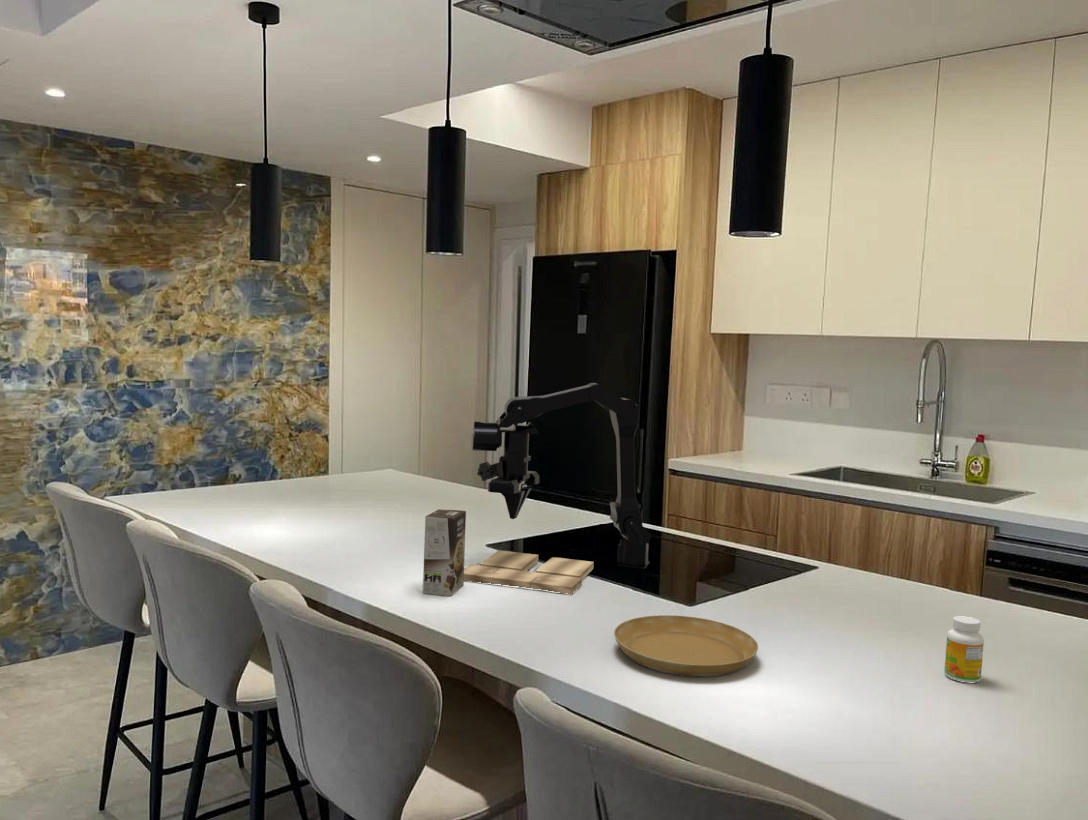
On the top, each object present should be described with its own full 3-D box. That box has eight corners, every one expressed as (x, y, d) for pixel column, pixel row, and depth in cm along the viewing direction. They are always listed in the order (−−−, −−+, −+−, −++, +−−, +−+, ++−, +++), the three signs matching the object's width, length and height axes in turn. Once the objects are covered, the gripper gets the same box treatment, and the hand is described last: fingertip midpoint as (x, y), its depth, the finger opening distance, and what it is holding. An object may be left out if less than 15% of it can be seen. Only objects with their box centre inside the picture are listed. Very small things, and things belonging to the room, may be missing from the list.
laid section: (581, 585, 187) (582, 577, 187) (571, 595, 180) (571, 587, 180) (470, 571, 195) (471, 564, 195) (456, 580, 188) (456, 572, 188)
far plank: (538, 561, 204) (538, 554, 204) (520, 575, 193) (521, 568, 193) (498, 556, 208) (498, 550, 207) (479, 570, 196) (479, 563, 196)
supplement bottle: (937, 671, 143) (941, 614, 143) (968, 671, 144) (972, 614, 143) (955, 684, 138) (960, 624, 137) (987, 684, 139) (992, 625, 138)
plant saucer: (785, 677, 139) (786, 657, 139) (647, 689, 132) (648, 668, 132) (714, 629, 162) (715, 611, 162) (593, 637, 155) (594, 618, 155)
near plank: (593, 568, 200) (593, 561, 200) (579, 583, 189) (579, 576, 189) (552, 563, 203) (552, 557, 203) (535, 577, 192) (536, 570, 192)
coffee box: (451, 596, 175) (454, 518, 174) (421, 593, 177) (423, 515, 175) (464, 585, 184) (467, 510, 183) (436, 582, 186) (438, 507, 184)
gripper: (498, 445, 212) (495, 508, 213) (467, 453, 194) (465, 522, 195) (541, 448, 208) (538, 513, 209) (514, 457, 191) (511, 527, 192)
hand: (513, 518), depth 201 cm, fingers closed
